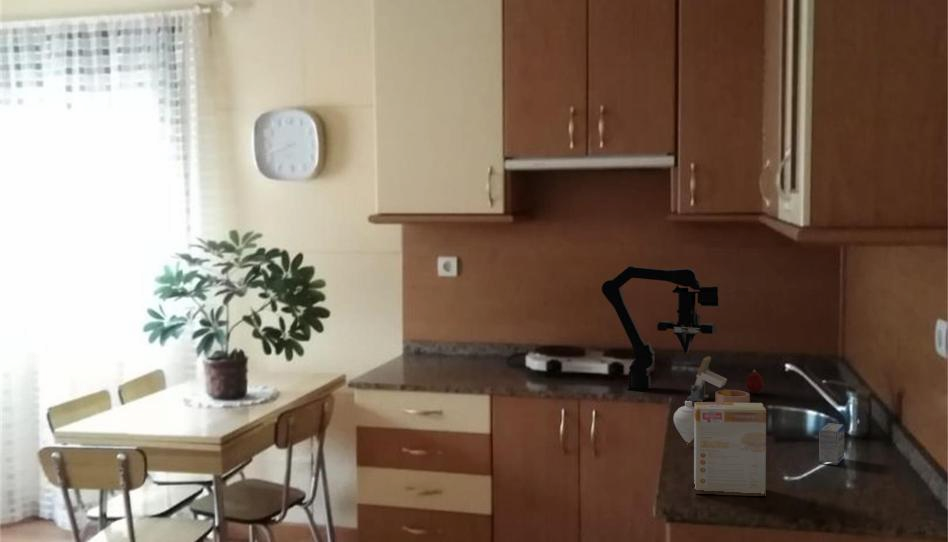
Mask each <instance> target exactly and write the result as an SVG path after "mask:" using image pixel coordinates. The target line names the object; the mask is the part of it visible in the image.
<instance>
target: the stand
mask: <svg viewBox="0 0 948 542" xmlns="http://www.w3.org/2000/svg"><path fill="white" fill-rule="evenodd" d="M709 396H710V395H709V394H706V381H704V384H703V386H702V388H701V389H699V386H697V385H695V384H691V386H690V395H689V396H687V397H686V401H687V400H689V401H690V400H691V401H692V402H695V401H701V402H703V401H704V400H705V401H706V400H708V399H709V398H710V397H709ZM707 398H708V399H707ZM705 401H704V402H705Z"/></svg>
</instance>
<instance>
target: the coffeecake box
mask: <svg viewBox="0 0 948 542" xmlns="http://www.w3.org/2000/svg"><path fill="white" fill-rule="evenodd" d="M693 407H694V439H693V455H694V456H693V483H694V484H695V487H694V490H695V489H696V490H704V491H724V492H740V493H741V492H742V493H761V494H764V493H765V494H766V489H767V488H766V484H767V483H766V482H767V481H766V478H767V477H766V469H767V467H766V466H767V462H766V460H767V459H766V457H767V409H766V407H765V406H764V404H763V402H750V403H727V402H715V401H704V402H695V401H694V406H693ZM694 484H693V485H694Z"/></svg>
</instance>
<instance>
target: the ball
mask: <svg viewBox="0 0 948 542" xmlns="http://www.w3.org/2000/svg"><path fill="white" fill-rule="evenodd" d="M728 390H729V389H722V391H721V390H720V391H721V392H720V395H724V396H731V393H730V391H728Z"/></svg>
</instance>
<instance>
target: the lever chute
mask: <svg viewBox="0 0 948 542" xmlns="http://www.w3.org/2000/svg"><path fill="white" fill-rule="evenodd" d="M711 360H712V356H709V355H708V356H705V357H704V358H703V359H702V361H701V363H700V366H699V368H698V371H697V374H696V380H695V383H694V385H697V386H699V389H701V388H702V386H703V384H704V382H707V383H709V384H710V385H711V384H712V385H713V386H716V387H718V388H719V389H721V388H722V387H723V386H725V385H726V384H727V381H728V378H726V377H724V376H722V375H719V374H717V373H715V372H713V371H711V370H709V369H708V368H709V366H710V363H711Z"/></svg>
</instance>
